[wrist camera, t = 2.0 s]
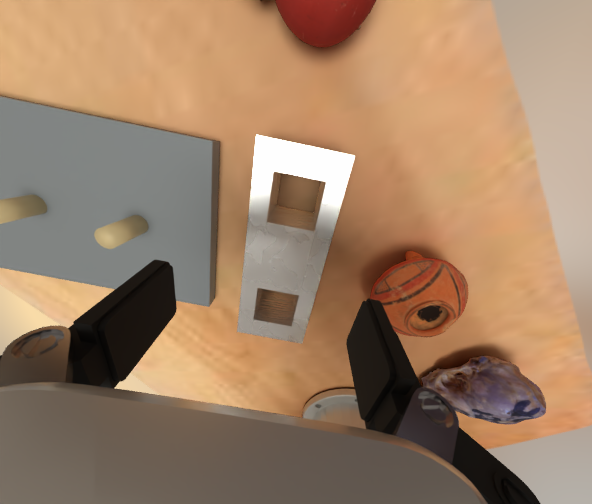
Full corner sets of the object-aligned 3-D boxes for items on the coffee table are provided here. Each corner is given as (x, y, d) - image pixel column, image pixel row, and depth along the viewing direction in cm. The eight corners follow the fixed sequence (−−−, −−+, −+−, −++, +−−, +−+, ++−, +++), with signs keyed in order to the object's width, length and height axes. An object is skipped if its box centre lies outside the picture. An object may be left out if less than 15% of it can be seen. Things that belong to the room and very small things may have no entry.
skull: (414, 398, 30) (437, 454, 25) (397, 364, 28) (419, 418, 22) (511, 376, 27) (562, 433, 22) (502, 335, 25) (558, 389, 19)
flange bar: (303, 307, 24) (302, 343, 20) (250, 297, 24) (237, 331, 20) (343, 153, 18) (355, 155, 13) (270, 138, 17) (256, 134, 13)
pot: (469, 257, 20) (517, 319, 15) (409, 302, 25) (430, 361, 20) (397, 223, 19) (423, 278, 14) (349, 278, 24) (355, 334, 19)
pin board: (214, 298, 25) (193, 331, 20) (16, 260, 24) (-52, 286, 19) (220, 141, 18) (189, 139, 13) (-59, 83, 17) (-192, 59, 13)
